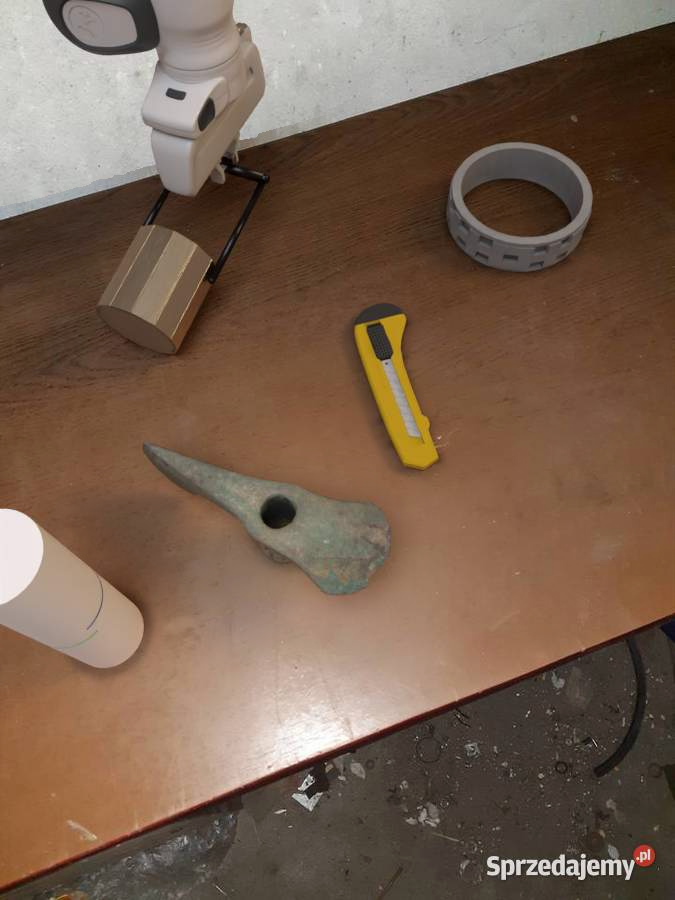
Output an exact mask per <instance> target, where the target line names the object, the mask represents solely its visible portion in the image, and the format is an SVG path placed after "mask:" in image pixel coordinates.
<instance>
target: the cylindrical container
mask: <svg viewBox="0 0 675 900" xmlns="http://www.w3.org/2000/svg"><path fill="white" fill-rule="evenodd" d="M0 625H1V626H3V627H6V628H9V629H10V630H13V631H14V632H17V633H19V634H21V635H23V636H25V637H27V638H29V639H32V640H34V641H36V642H39V643H41V644H42V645H45V646H47V647H49V648H51V649H54V650H55V651H58V652H60V653H62V654H65V655H67V656H69V657H71V658H73V659H74V660H78V661H79V662H82V663H84V664H86V665H89V666H91V667H93V668H98V669H109V668H114V667H116V666H119V665H121V664H123V663H124V662H126V661H127V660H129V659H130V658H131V657H132V656H133V655H134V654H135V652H136V651H137V650H138V648H139V647H140V644H141V643H142V640H143V636H144V630H145V626H144V625H145V623H144V618H143V615H142V613H141V611H140V609H139V608H138V607H137V605H135V603H133V602H132V601H131V600H130V599H129V598H128V597H126V595H124V594H123V593H122V592H121V591H119V590H118V589H116V588H115V586H113V585H112V584H111V583H109V582H108V581H107V580H106V579H105V578H103V577H102V576H101V575H100V574H99V573H97V572H96V571H95V570H94V569H93V568H92V567H91V566H89V565H88V564H86V563H85V562H84V561H83V560H82V559H80V558H79V557H78V556H77V555H76V554H75V553H73V552H72V551H71V550H70V549H68V547H66V546H65V545H64V544H62V543H61V542H60V541H59V540H57V539H56V538H55V537H54V536H53V535H52V534H51V533H49V532H48V531H47V530H45V528H43V527H42V526H40V524H38V523H37V522H36V521H35V520H34V519H32V518H31V517H29V516H28V515H26V514H25V513H23V512H21V511H18V510H17V509H16V510H15V509H11V508H0Z"/></svg>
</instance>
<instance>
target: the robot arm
mask: <svg viewBox="0 0 675 900" xmlns="http://www.w3.org/2000/svg"><path fill="white" fill-rule="evenodd" d="M41 1H42V5H43V7H44V10H45V11H46V14H47V15H48V17H49V19H50V21H51V22H52V24H53V26H54V27H55V28H56V29H57V30H58V31H59V33H60V34H61V35H62V36H63V37H64V38H65V39H66V40H68V41H69V42H70V43H71V44H73V45H74V46H76V47H77V48H79V49H81V50H83V51H85V52H88V53H90V54H94V55H97V56H123V55H124V56H125V55H133V54H134V55H135V54H141V53H145V52H150V51H152V50H154V49H155V50H156V54H157V57H158V60H157V62H156V64H155V67H154V71H153V76H152V79H151V83H150V86H149V89H148V91H147V93H146V95H145V98H144V100H143V103H142V105H141V109H140V115H141V118H142V121H143V123H144V125H145V126H148V127H149V128H151V131H150V132H151V134H150V146H151V151H152V155H153V158H154V162H155V166H156V169H157V172H158V175H159V177H160V180H161V183H162V185H163V188H164V187H165V188H166V189H168V190H169V191H170V192H172V193H174V194H177V195H181V196H184V197H190V198H194V197H196V196H197V194H198V193H199V192H200V190H201V188H202V187H203V186H204V184H205V183H206V181H207V180H208V178H209V177H210V179H211V181H212V182H214V183H216V184H219V185H223V184H225V183H226V180H227V179H228V178H229V176H230V174H229V173H228V168H227V166H226V165H220V164H219V163H220V162H221V160H224V161H228V162H231V163H234V164H238V162H239V154H238V153H239V152H238V150H239V145H240V144H239V143H240V136H241V132H240V131H241V129H243V127H244V126H245V124H246V122H247V121H248V119H249V118H250V116H251V115H252V114H253V112H254V111H255V109H256V107H258V105H259V103H260V102H261V100H262V99H263V98H264V95H265V91H266V77H265V71H264V67H263V62H262V58H261V54H260V51H259V49H258V46H257V45H256V44H255V43H254V42H253V38H252V30H251V27H250V26H248V25H247V24H246V23H245V22H237V23H236V22H235V17H234V6H235V5H234V4H235V0H41Z"/></svg>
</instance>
